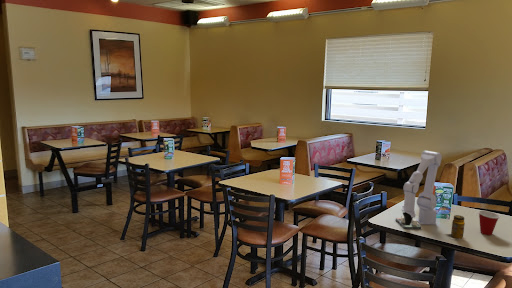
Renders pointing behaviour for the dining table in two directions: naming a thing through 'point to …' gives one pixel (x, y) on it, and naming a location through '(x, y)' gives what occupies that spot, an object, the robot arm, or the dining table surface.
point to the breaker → (414, 221)
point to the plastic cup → (487, 221)
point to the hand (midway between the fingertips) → (407, 225)
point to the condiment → (457, 228)
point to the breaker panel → (407, 226)
